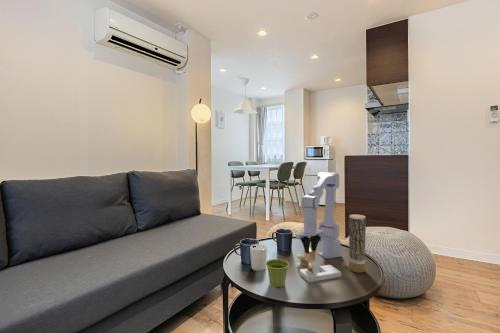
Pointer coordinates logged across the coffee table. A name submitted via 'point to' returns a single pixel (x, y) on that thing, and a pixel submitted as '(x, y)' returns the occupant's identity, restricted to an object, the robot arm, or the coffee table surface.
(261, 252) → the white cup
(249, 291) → the coffee table surface
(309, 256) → the block
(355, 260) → the bark textured cylinder
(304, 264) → the bobbin
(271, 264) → the plant pot
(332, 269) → the board
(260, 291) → the coffee table surface
